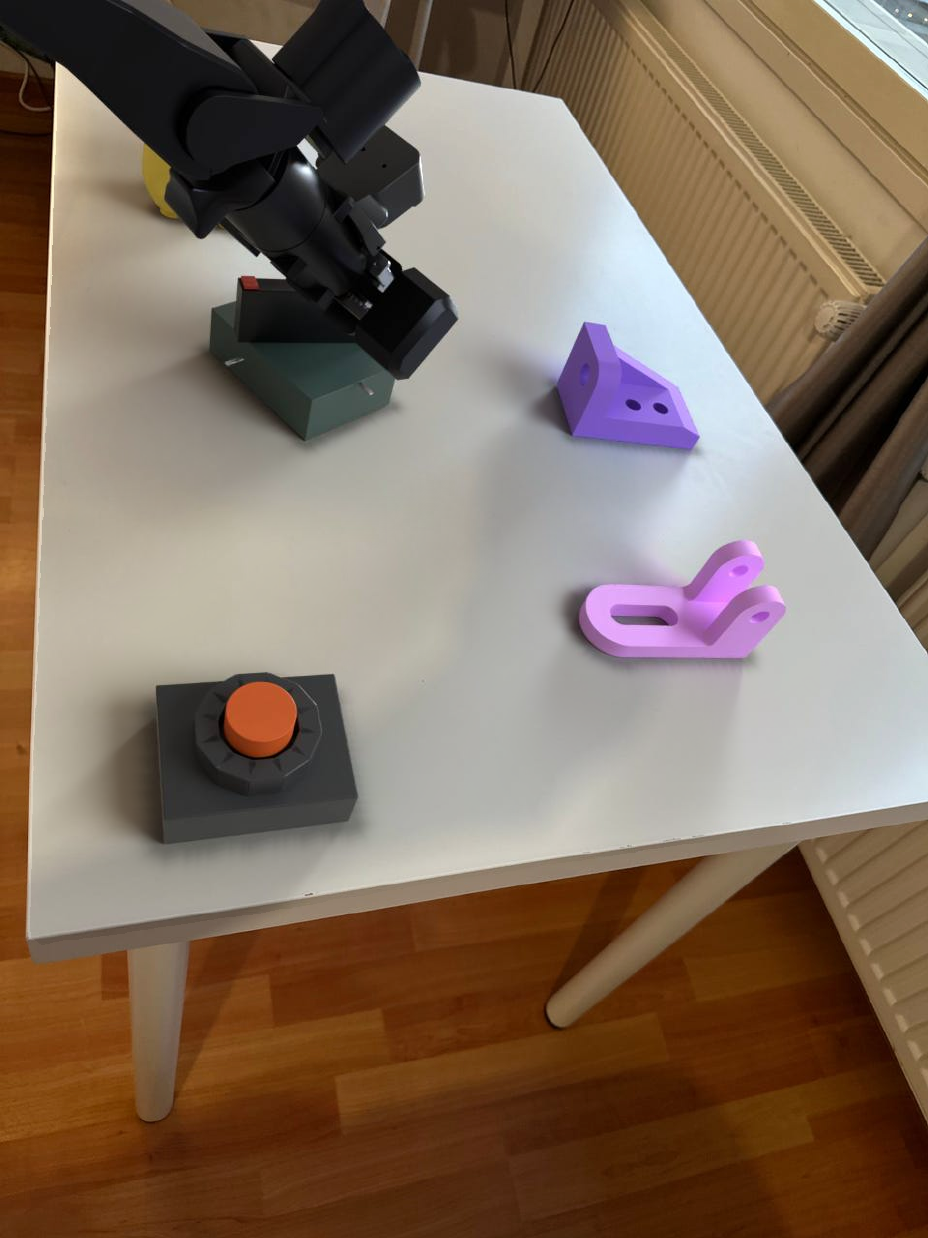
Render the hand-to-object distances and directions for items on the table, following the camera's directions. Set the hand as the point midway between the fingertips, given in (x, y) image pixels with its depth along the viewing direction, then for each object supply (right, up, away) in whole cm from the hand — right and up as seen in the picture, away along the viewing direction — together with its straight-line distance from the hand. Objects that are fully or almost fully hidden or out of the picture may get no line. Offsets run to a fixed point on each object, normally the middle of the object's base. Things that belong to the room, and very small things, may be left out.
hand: (380, 315), depth 68 cm
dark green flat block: (-7, -4, +4) cm, 9 cm away
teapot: (-18, +16, +16) cm, 29 cm away
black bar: (-6, -1, +1) cm, 6 cm away
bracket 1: (+21, -5, +13) cm, 25 cm away
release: (-6, -32, -17) cm, 37 cm away
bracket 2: (+21, -24, -2) cm, 32 cm away
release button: (-4, -29, -21) cm, 36 cm away
